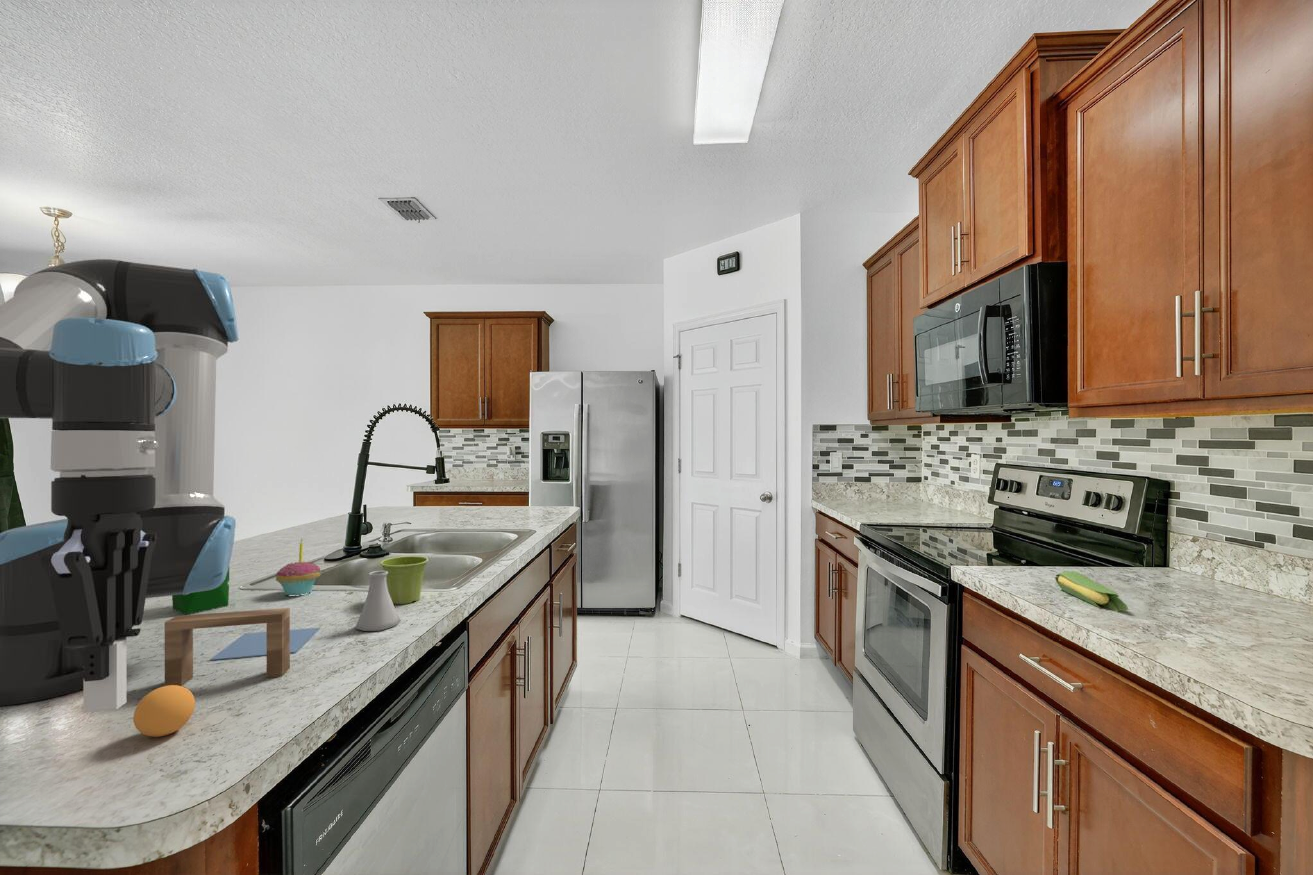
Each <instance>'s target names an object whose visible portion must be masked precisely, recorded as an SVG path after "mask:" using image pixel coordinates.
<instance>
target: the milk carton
mask: <svg viewBox="0 0 1313 875" xmlns="http://www.w3.org/2000/svg"><path fill="white" fill-rule="evenodd" d="M229 591H230V567H229V568H228V572H227V575H226V578H225V580H224V581H223V583H222V584H221V585H220V586H218V587H217V588H215V589H212V590H206V591H200V592H193V593H189V594H187V595H183V594H180V595H171V597H172V598H171V599H172V610H174V611H177V612H179V611H180V612H179V613H181V612H182V614H183V615H192V614H196V612H197V613H200V612H199V611H201V612H204V610H206V611H210V610H213V609H212V608H215V609H218V607H220V608H222V607H221V606H224V607H228V606H229V600H230V599H229V598H230V597H229V595H230V594H229V593H230V592H229ZM227 605H228V606H227ZM191 613H192V614H191Z"/></svg>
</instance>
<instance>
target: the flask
mask: <svg viewBox="0 0 1313 875" xmlns="http://www.w3.org/2000/svg"><path fill="white" fill-rule="evenodd" d="M387 574H388V571H384V570H375V571H371V572H369V573H368V574H367V577H368V578H369V587H368V591H367V595H366V599H365V601H364V604H363V607H362V608H361V611H360V614H359V617H358V620H357V623H356V624H355V627H354V629H356V630H358V631H359V630H360V631H363V632H372V631H373V632H375V631H376V632H378V631H383V630H386V629H387V630H388V629H389V628H393V627H395V626H397V625H398V624H399V623H400V622H401V618H400V616H399V614H398V611H397V609H396V607H395V606H394V603H393V602H392V600H391V597H390V595H389V592H388V588H387V583H386V575H387Z"/></svg>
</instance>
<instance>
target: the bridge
mask: <svg viewBox="0 0 1313 875" xmlns="http://www.w3.org/2000/svg"><path fill="white" fill-rule="evenodd" d="M290 609H291V608H290V607H281V608H269V609H254V610H252V609H251V610H242V611H241V610H240V611H227V612H212V613H200V614H199V613H197V614H196V613H195V614H187V615H186V614H183V615H176V616H174V617H172V618H171V619H168V620H167V621H165V622H164V686H169V685H178V686H182V687H183V686H184V685H185V684H186V683H188V682H189V681H190V680H191V679H193V678H194V630H195V629H196V630H198V629H206V628H207V629H209V628H210V629H211V628H219V627H220V628H221V627H233V626H234V627H235V626H247V625H260V624H266V632H267V656H266V678H267V679H268V678H276V677H283V676H284V675H285V674H286V673H287V672H288V670H290V669H291V653H290V630H291V624H290V622H291V620H290V619H291V616H290V615H291V614H290V611H291V610H290Z"/></svg>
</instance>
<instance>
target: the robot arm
mask: <svg viewBox="0 0 1313 875" xmlns="http://www.w3.org/2000/svg"><path fill="white" fill-rule="evenodd" d="M233 300H234V299H233V294H232V289H231V285H230V282H229V280H228V279H227V278H226V277H225V276H224V275H222V274H220V273H215V272H210V271H202V270H199V269H197V268H193V269H189V268H179V267H175V266H174V267H173V266H172V267H171V266H164V265H157V264H150V263H140V262H132V261H125V260H120V259H107V258H102V259H101V258H97V259H96V258H95V259H83V260H77V261H76V260H75V261H70V262H65V263H62V264H57V265H53V266H50V267H49V266H48V267H47V268H43V269H41V270H39V271H37V272H33V273H31V274H29V275H28V276H27V277H25V278H23V279H22V280H21V281H20V282H19V283H18V284H17V286H16V287H15V289H14V291H13V296H12V297H10V298H9V299H8V300H5V302H3V303H2V304H0V419H47V420H49V419H50V420H52V421H51V422H52V424H51V439H50V440H51V441H50V442H51V444H50V470H51V471H53V472H55V473H56V472H57V473H59V477H55V478H54V480H52V481H51V483H50V488H51V490H50V493H51V495H50V497H51V498H50V504H51V505H50V507H51V508H50V511H51V513H52V514H53V515H56V516H59V517H65V518H64V519H58V520H57V519H56V520H51V521H45V522H40V523H35V524H29V525H24V526H19V527H14V528H11V529H8V530H5V531H2V532H0V706H2V707H3V706H10V705H11V706H12V705H18V704H19V705H20V704H25V703H32V702H37V701H43V700H47V699H51V698H55V697H59V696H62V695H67V694H70V693H74V692H77V691H81V690H83V695H82V696H83V702H82V703H83V708H82V709H83V713H94V712H102V711H103V712H104V711H105V712H106V711H111V710H112V711H113V710H114V711H115V710H118V709H119V708H121V707H122V706H124V705H125V704H126V703H127V652H128V651H127V647H128V646H127V638H130V637H133V638H134V637H138V636H139V635H140V632H141V630H142V628H134V627H135V626H140V625H141V624H142V623H143V618H144V613H145V604H146V599H153V598H161V597H169V596H170V597H172V595H180V594H183V595H187V594H189V593H193V592H200V591H206V590H212V589H215V588H217V587H218V586H220V585H221V584H222V583H223V581H224V580H225V578H226V575H227V572H228V568H229V569H230V563H231V558H232V553H233V550H234V549H233V548H234V542H235V535H236V534H235V531H236V530H235V529H236V525H237V524H236V518H235V517H233V516H230V515H226V514H225V505H224V504H223V503H221V502H220V501H219V500H218V499H217V498H215V496H214V480H215V478H214V477H215V473H214V472H215V438H216V436H215V435H216V434H215V433H216V431H215V430H216V392H217V391H216V388H217V387H216V385H217V384H216V383H217V382H216V380H217V360H218V359H219V358H221V357H222V356H224V355H225V354H227V353H228V351H229V350H228V346H229V343H231V344H232V343H236V342H238V341H239V334H238V333H239V332H238V331H239V330H238V324H237V318H236V310H235V306H234V301H233Z"/></svg>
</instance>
